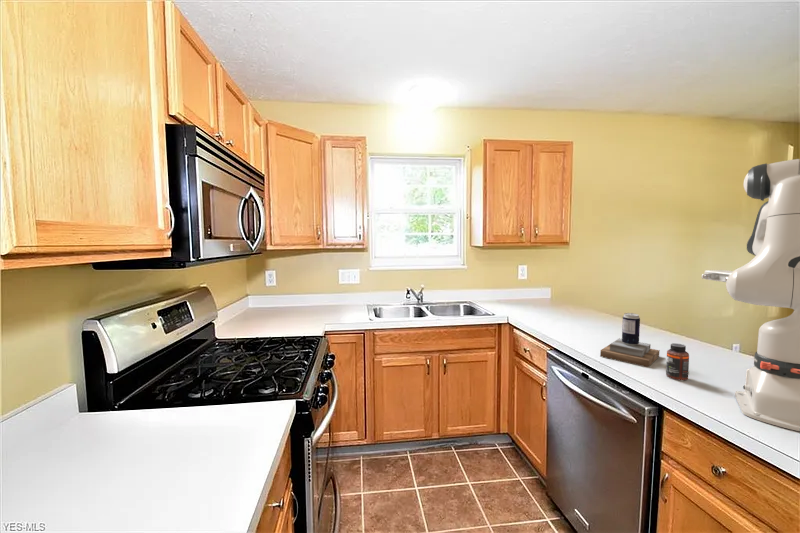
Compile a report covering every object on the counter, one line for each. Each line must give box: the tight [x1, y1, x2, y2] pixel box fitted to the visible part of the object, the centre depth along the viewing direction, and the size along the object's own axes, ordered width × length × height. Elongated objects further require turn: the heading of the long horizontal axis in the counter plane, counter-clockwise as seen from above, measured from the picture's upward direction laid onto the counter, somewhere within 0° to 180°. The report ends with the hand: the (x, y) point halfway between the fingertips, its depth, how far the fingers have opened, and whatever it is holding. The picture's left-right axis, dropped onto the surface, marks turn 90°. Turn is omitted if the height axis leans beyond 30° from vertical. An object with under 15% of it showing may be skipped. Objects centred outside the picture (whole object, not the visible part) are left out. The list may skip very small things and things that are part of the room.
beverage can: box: [621, 312, 641, 346], centre depth 137 cm, size 6×6×12 cm
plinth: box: [599, 337, 660, 368], centre depth 138 cm, size 16×16×5 cm
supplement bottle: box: [665, 342, 690, 381], centre depth 117 cm, size 6×6×11 cm
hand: (714, 278), depth 128 cm, fingers open, 8 cm apart
